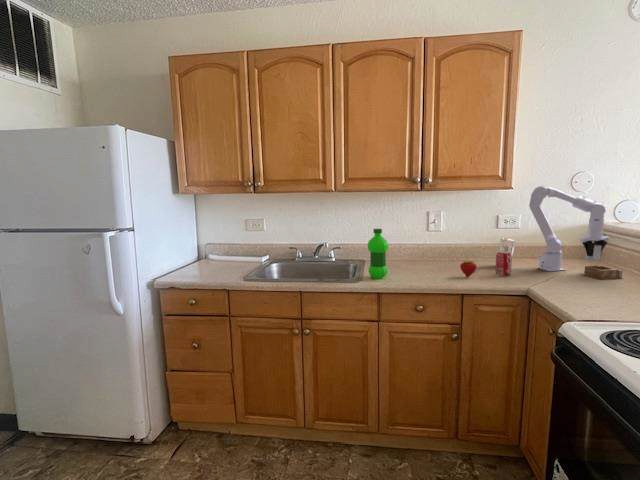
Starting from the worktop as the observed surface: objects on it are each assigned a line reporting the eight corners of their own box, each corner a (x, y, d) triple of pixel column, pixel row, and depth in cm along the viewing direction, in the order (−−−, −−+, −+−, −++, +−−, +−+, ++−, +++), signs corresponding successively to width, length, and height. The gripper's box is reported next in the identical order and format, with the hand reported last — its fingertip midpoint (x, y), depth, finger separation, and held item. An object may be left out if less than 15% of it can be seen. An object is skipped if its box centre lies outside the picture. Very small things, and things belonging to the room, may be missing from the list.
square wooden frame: (600, 279, 165) (601, 270, 164) (584, 274, 174) (584, 266, 173) (618, 277, 166) (618, 269, 165) (600, 273, 175) (601, 265, 174)
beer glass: (514, 265, 195) (516, 238, 193) (510, 268, 190) (512, 240, 188) (501, 264, 200) (502, 237, 198) (497, 266, 195) (498, 239, 193)
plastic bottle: (371, 274, 188) (370, 227, 184) (390, 276, 183) (390, 228, 179) (365, 279, 179) (364, 230, 175) (385, 281, 174) (385, 230, 170)
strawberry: (475, 279, 172) (476, 259, 170) (459, 277, 175) (459, 258, 174) (476, 276, 177) (477, 256, 175) (460, 275, 180) (461, 255, 179)
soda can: (510, 274, 179) (511, 250, 177) (511, 277, 172) (512, 253, 170) (495, 273, 182) (496, 250, 180) (495, 276, 175) (496, 252, 173)
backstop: (618, 278, 165) (619, 270, 165) (599, 272, 175) (600, 265, 175) (621, 277, 166) (622, 270, 165) (602, 272, 175) (603, 265, 175)
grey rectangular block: (592, 260, 173) (594, 246, 172) (585, 258, 177) (586, 244, 175) (600, 259, 173) (601, 245, 172) (593, 257, 177) (594, 244, 176)
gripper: (589, 230, 167) (587, 258, 170) (616, 228, 169) (614, 256, 171) (577, 228, 174) (575, 255, 177) (603, 226, 176) (601, 253, 178)
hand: (593, 255), depth 174 cm, fingers closed on grey rectangular block, 4 cm apart
